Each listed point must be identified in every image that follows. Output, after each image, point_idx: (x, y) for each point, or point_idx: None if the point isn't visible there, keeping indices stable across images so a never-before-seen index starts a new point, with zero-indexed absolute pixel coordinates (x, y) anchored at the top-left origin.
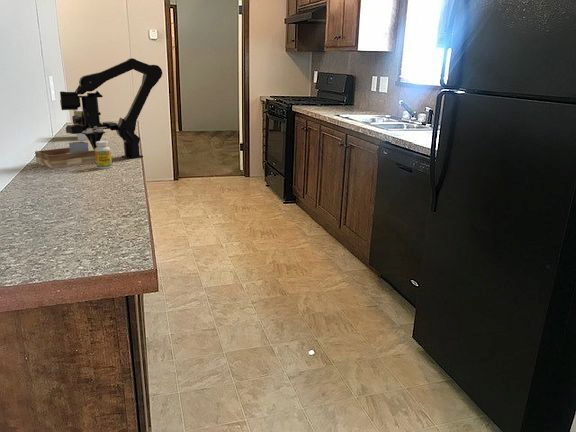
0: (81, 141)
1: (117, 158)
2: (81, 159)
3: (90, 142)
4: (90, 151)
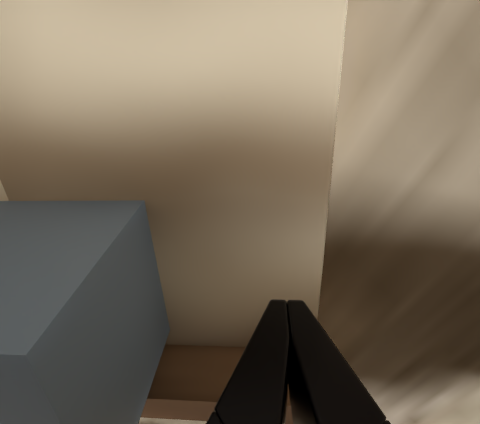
0: (22, 356)
1: (474, 292)
2: None
3: (221, 410)
4: (158, 414)
